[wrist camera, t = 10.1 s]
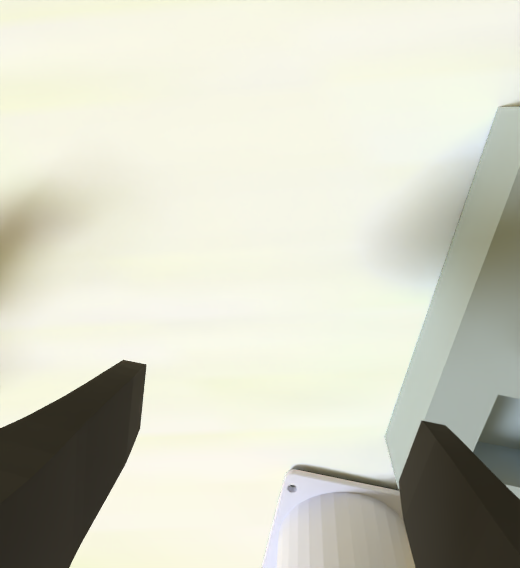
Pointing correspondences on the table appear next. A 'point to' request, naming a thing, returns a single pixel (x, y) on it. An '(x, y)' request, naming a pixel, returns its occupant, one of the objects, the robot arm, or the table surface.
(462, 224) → the hole block
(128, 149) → the table surface
